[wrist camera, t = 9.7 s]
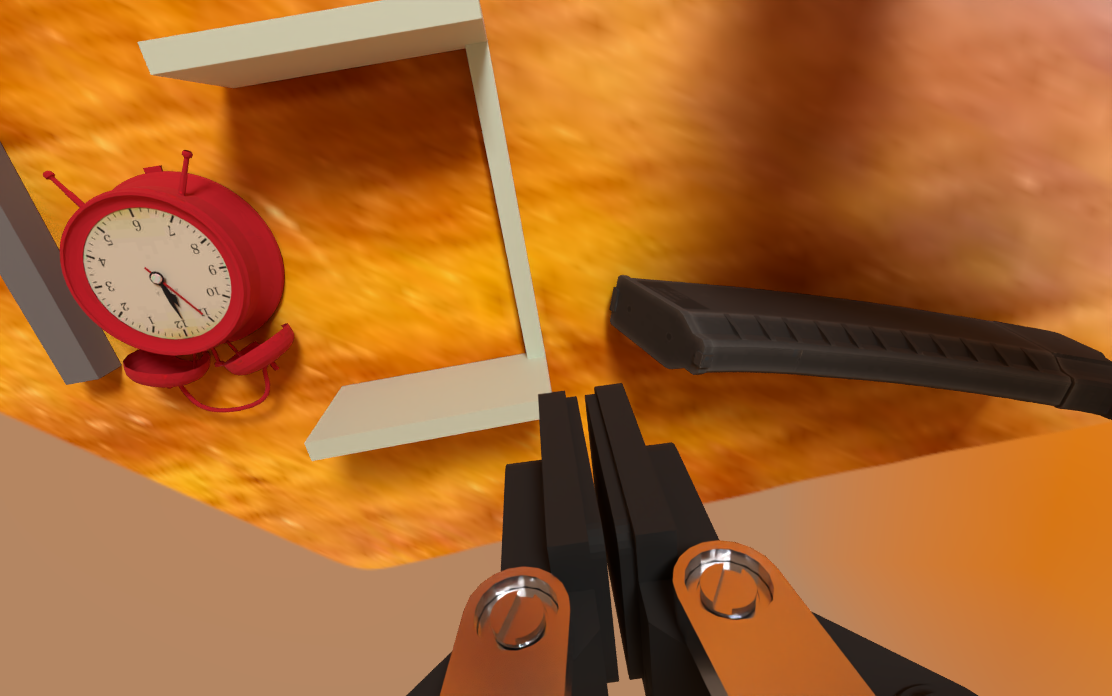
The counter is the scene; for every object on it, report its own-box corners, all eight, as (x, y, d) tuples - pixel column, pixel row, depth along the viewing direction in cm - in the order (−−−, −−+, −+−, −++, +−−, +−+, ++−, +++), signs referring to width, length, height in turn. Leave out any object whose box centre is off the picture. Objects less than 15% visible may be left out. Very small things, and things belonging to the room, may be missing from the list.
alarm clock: (206, 135, 26) (283, 420, 28) (269, 159, 32) (327, 392, 35) (-5, 169, 26) (92, 453, 28) (99, 187, 32) (171, 418, 34)
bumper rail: (-42, 139, 28) (-81, 140, 26) (-5, 133, 28) (-41, 133, 26) (90, 370, 33) (66, 384, 32) (121, 365, 33) (98, 378, 32)
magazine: (588, 368, 26) (1275, 516, 22) (599, 307, 25) (1328, 451, 21) (620, 289, 42) (1025, 367, 38) (627, 250, 41) (1047, 325, 37)
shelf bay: (224, 63, 28) (137, 42, 21) (483, 19, 28) (475, -16, 21) (347, 401, 36) (311, 460, 29) (547, 365, 36) (555, 416, 29)
